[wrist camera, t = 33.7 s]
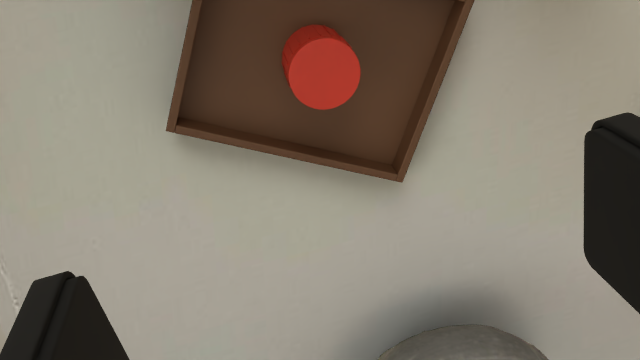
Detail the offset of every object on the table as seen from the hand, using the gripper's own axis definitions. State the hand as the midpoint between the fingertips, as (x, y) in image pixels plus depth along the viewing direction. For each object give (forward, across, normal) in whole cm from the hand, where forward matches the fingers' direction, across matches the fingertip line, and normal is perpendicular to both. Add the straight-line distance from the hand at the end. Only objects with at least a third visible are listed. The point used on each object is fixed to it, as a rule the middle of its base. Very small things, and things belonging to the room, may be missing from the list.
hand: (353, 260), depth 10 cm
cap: (+24, -3, +3) cm, 25 cm away
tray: (+25, -3, +3) cm, 25 cm away
